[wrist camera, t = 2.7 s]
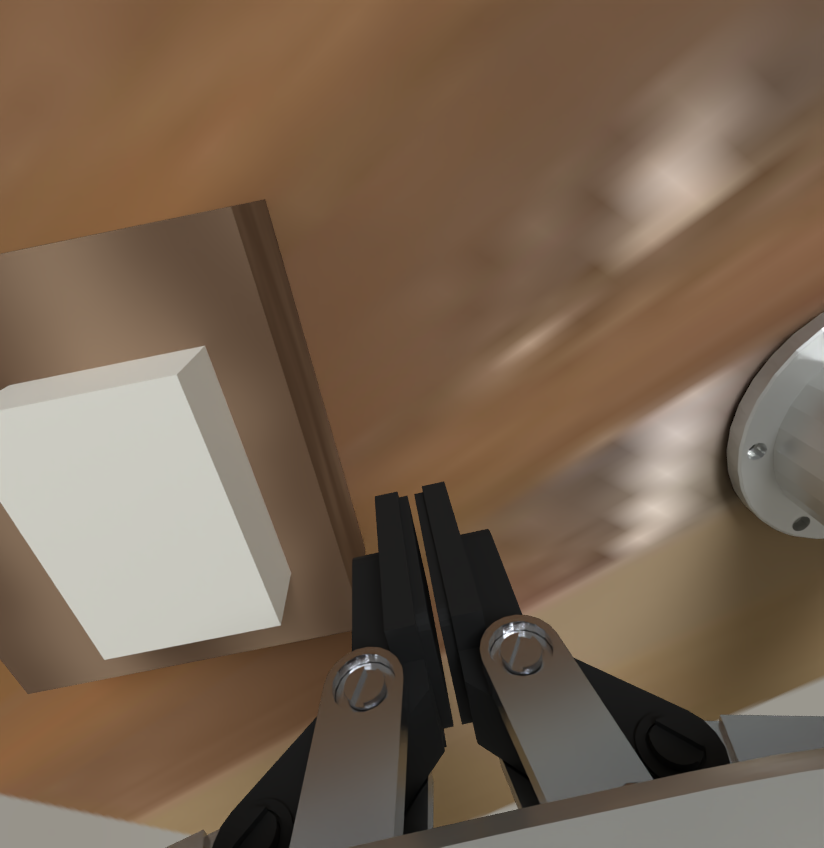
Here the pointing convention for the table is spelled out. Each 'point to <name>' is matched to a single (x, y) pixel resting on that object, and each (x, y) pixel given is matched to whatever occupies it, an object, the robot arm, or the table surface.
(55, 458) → the block
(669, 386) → the table surface
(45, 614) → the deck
